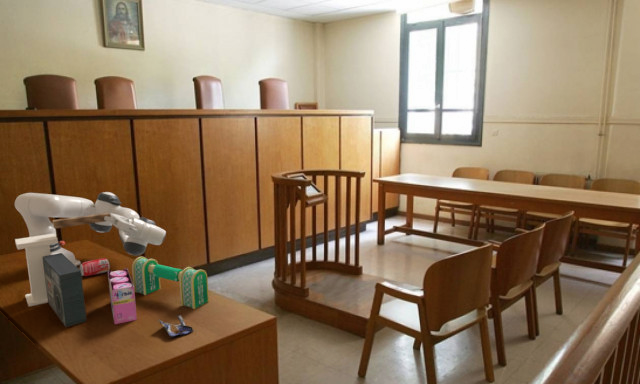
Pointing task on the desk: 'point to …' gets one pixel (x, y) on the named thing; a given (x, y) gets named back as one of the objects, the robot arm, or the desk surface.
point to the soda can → (94, 267)
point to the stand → (36, 265)
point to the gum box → (122, 296)
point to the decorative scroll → (190, 280)
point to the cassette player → (64, 289)
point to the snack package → (179, 327)
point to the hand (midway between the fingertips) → (103, 216)
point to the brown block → (79, 220)
